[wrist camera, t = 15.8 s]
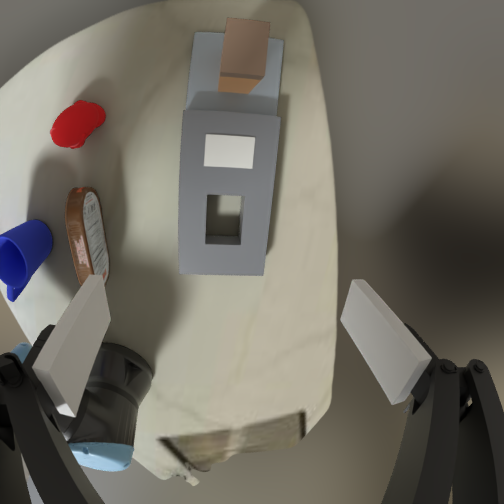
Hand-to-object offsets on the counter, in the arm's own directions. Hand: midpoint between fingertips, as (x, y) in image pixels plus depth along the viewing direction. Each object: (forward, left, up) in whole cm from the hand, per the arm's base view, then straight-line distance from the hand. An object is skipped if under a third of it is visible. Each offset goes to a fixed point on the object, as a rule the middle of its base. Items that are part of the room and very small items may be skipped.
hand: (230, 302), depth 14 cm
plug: (+1, +17, -26) cm, 31 cm away
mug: (-31, -9, -27) cm, 42 cm away
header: (+1, 0, -27) cm, 27 cm away
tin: (-18, -6, -27) cm, 33 cm away
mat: (+1, +17, -27) cm, 32 cm away
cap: (-20, +10, -27) cm, 35 cm away
